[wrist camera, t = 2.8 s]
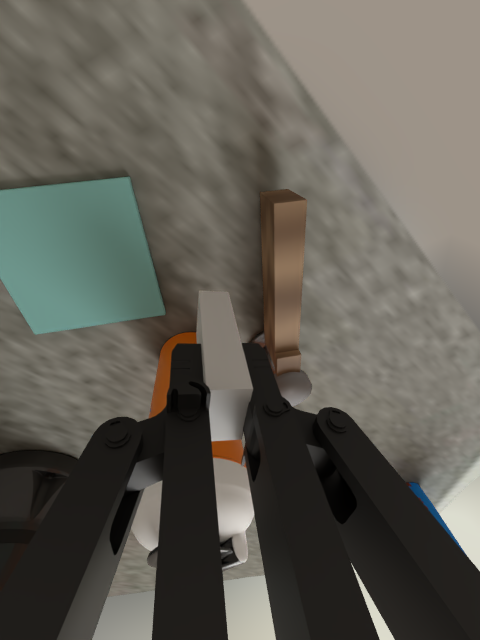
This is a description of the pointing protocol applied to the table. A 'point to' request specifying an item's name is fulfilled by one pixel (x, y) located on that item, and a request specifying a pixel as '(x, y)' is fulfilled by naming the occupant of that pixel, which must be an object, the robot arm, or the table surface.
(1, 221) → the mat
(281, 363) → the bar
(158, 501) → the shaker bottle
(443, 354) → the table surface
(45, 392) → the table surface
